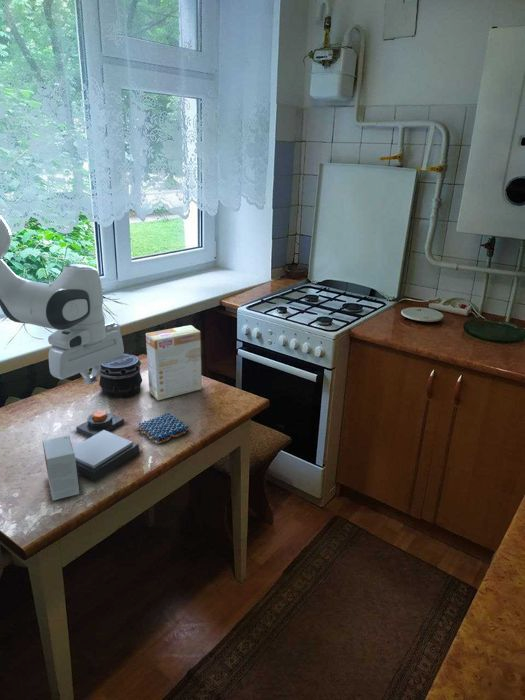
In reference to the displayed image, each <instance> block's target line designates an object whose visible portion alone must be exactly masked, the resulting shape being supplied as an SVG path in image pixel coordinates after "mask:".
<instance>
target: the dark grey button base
mask: <svg viewBox="0 0 525 700" xmlns="http://www.w3.org/2000/svg"><path fill="white" fill-rule="evenodd" d="M105 412H106V419H105V420H103V421H94V419H93V413H91V414H90V415H88V417H86V418H87V419H86V420H87V421H85V422H83V423H81V424H79V425H77V426H76V427H75V428H76V432H77V433H80V434H82V435H84V436H86V437H88V438H90V437H92V436H94V435H95V434H97V433H99V432H101V431H103V430H106V431H109V432H111V431H112V430H115V429H116V428H118V427H119V426H121V425H124V424H125V420H124V418H123V417H119V416H117V415H115V414H113V413H110V412H107V411H105Z"/></svg>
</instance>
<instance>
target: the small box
mask: <svg viewBox="0 0 525 700" xmlns="http://www.w3.org/2000/svg"><path fill="white" fill-rule="evenodd" d="M72 447H73V444H72V441H71V437H70V435H65V436H59V437H54V438H48V439H44V440H42V449H43V454H44V461H45V467H46V475H47V480H48V484H49V490H50V495H51V500H52V501H53V502H54V501H57V500H61V499H64V498H68V497H72V496H77V495H80V487H79V479H78V477H79V476H78V473H77V469H76V460H75V453H74V451H73V448H72Z"/></svg>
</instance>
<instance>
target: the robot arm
mask: <svg viewBox="0 0 525 700" xmlns="http://www.w3.org/2000/svg"><path fill="white" fill-rule="evenodd" d="M11 244H12V230H11V228H10V226H9V224H8V223H7V221H6V220H5V218H4V217H3V216H2V215H1V214H0V309H1V311H2V313H3V314H4V315H5V317H6V318H8V319H9V320H10V321H12V322H14V323H19V324H25V325H26V324H27V325H33V326H37V327H40V328H41V327H42V328H47V329H51V330H55V331H54V332H52V333H51V334H50V335H49V336H48V339H47V342H48V344H49V345H51V346H50V347H49V350H48V367H49V373H50V375H51V376H52V377H53V378H56V379H58V380H65V379H68V378H70V377H73V376H76V375H78V374H80V375H81V376H82V378H83V382H84V384H85V385H86V386H90V385H92V384H95V383H97V382H99V375H100V373H99V372H100V369H101V364H103V363H105V362H108V361H110V360H113V359H115V358H118V357H120V356H122V355H123V354H124V352H125V347H124V341H123V337H122V333H121V326H120V325H119V324H118V323H117V322H115V321H112V322H109V323H106V320H105V314H104V312H103V304H104V296H103V295H104V293H103V286H102V281H101V280H102V279H101V276H100V273H99V271H98V270H97V268H95V267H94V266H91V265H85V264H79V263H78V264H77V263H68V264H65V265H63V267H62V271H61V273H60V274H59V275H58V276H57V278H56V279H54V280H53V281H52V282H50V283H44V282H39V281H34V280H31V279H27V278H23V277H21V276H19V275H17V274H16V273H15V272H14V271H13V270H12V268H10V266H9V265H8V264H7V263H6V262H5V261H4V259H3V258H4V257H5V256H6V254H7V253H8V251H9V250H10V247H11ZM90 369H91V373H90ZM89 373H90V374H89Z"/></svg>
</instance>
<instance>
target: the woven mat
mask: <svg viewBox="0 0 525 700" xmlns="http://www.w3.org/2000/svg"><path fill="white" fill-rule="evenodd" d="M137 425H138V426H137V429H136V430H137V431H141V434H142V435H143V434H144V435H146V436H147V437H148V439H149V440H152V443H153V444H154V443H155V444H162V443H164V442H167V441H169V440H170V439H172V438H178V437H179V436H181V435H183V434H186V432H190V426H189V425H188V424H187V423H184V421H181V419H179V418H178V417H176V416H175V415H174V414H172V413H171V412H168V413H164V414H163V415H162V414H161V415H159V416H157V417H154V418H152V419H151V418H150V419H149V420H144V421H143V422H138V424H137Z"/></svg>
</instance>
